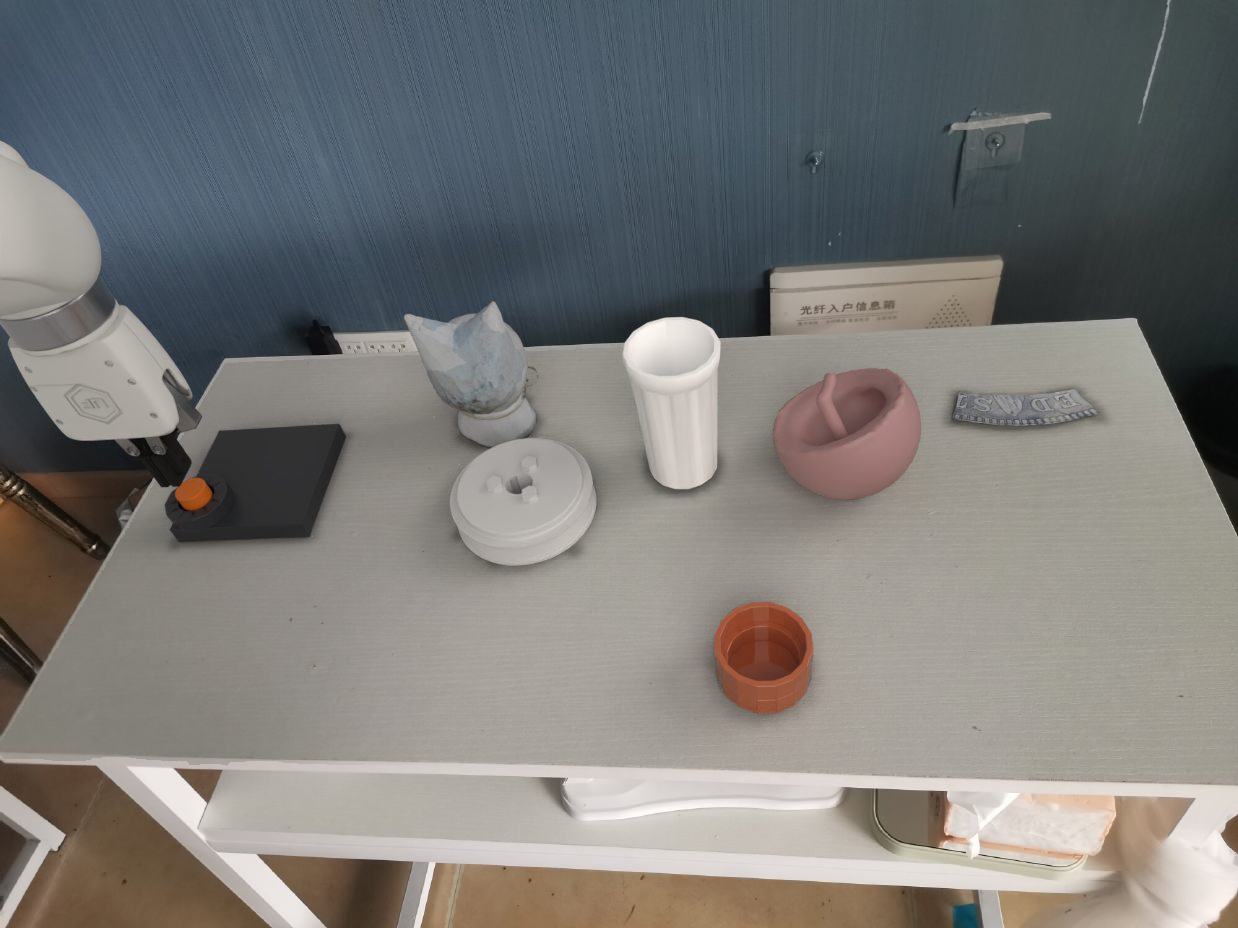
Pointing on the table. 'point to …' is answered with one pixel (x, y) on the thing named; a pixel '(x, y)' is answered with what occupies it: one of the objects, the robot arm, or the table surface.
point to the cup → (676, 397)
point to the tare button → (193, 494)
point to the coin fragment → (1022, 408)
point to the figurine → (478, 373)
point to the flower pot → (763, 657)
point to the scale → (261, 484)
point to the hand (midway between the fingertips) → (177, 475)
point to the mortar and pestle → (849, 433)
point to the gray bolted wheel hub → (523, 501)
